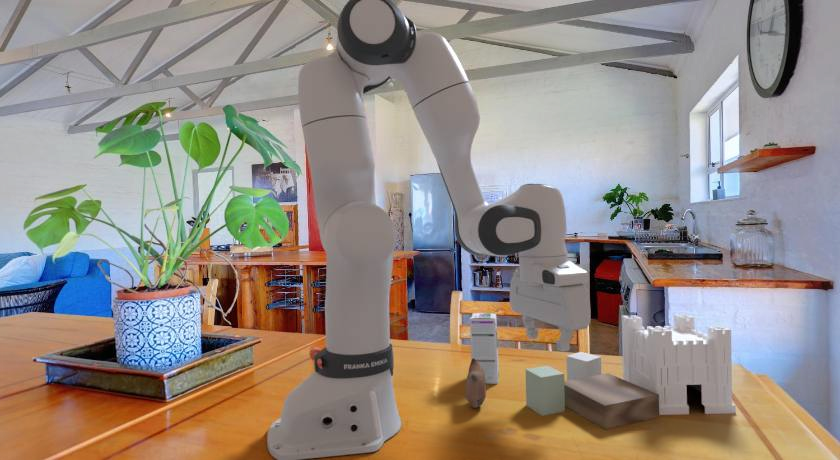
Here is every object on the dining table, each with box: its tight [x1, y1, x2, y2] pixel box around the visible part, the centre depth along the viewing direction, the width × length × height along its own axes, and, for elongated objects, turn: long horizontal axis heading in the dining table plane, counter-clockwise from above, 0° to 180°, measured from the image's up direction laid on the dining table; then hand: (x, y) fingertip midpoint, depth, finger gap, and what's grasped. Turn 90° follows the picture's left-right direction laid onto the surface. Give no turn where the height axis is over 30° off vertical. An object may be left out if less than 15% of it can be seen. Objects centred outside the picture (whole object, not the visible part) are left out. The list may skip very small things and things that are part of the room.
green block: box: [525, 365, 566, 417], centre depth 82 cm, size 5×5×7 cm
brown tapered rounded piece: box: [464, 358, 487, 409], centre depth 85 cm, size 9×4×8 cm, turn 175°
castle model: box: [621, 313, 737, 416], centre depth 85 cm, size 14×14×15 cm
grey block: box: [566, 351, 602, 381], centre depth 94 cm, size 5×5×6 cm
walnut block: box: [564, 372, 660, 430], centre depth 81 cm, size 12×12×4 cm
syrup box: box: [469, 312, 500, 385], centre depth 98 cm, size 6×6×14 cm
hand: (547, 343), depth 82 cm, fingers open, 8 cm apart
